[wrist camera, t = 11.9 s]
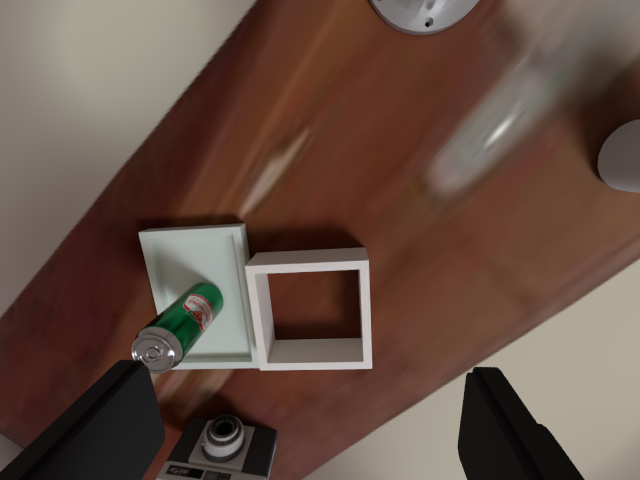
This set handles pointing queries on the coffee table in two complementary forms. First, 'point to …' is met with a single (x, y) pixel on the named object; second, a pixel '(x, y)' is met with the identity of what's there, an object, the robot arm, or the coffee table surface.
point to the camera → (221, 451)
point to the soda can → (177, 328)
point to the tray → (212, 268)
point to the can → (622, 158)
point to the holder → (308, 350)
